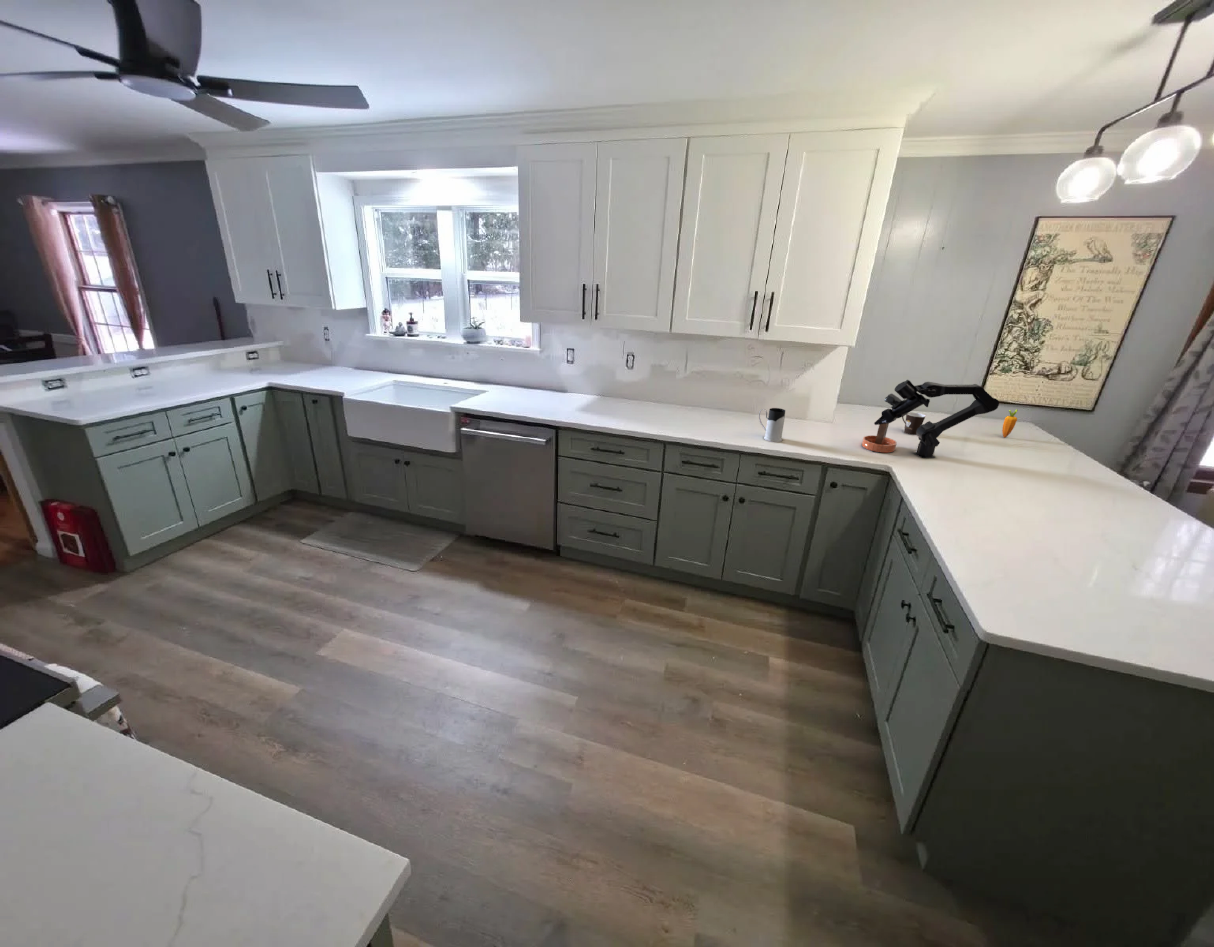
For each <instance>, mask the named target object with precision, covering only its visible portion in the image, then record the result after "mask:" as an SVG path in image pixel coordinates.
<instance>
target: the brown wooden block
mask: <svg viewBox="0 0 1214 947" xmlns="http://www.w3.org/2000/svg"><path fill="white" fill-rule="evenodd" d="M889 425H890V423H886V424H879V425H878V429H877V433H876V435H875V436H876V441H875V444H880V445H884V441H885V437H887V434H888V428H889Z"/></svg>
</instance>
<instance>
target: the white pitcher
mask: <svg viewBox="0 0 1214 947" xmlns="http://www.w3.org/2000/svg"><path fill="white" fill-rule="evenodd" d="M761 411H765V419H767V420H766V426H764V424H763V423H762V419H761ZM785 416H786V409H783V408H780V407H771V408H769V410H766V409H765V408H761V409H760V410H759V411H758V420H759V424H760V425H761V426H762V428H763V429H764V431H765V434H764V437H763V439H764V440H765V441H767V442H772V443H780V442H782V441H783V438H782V437H783V431H784V425H785V419H786V417H785Z"/></svg>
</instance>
